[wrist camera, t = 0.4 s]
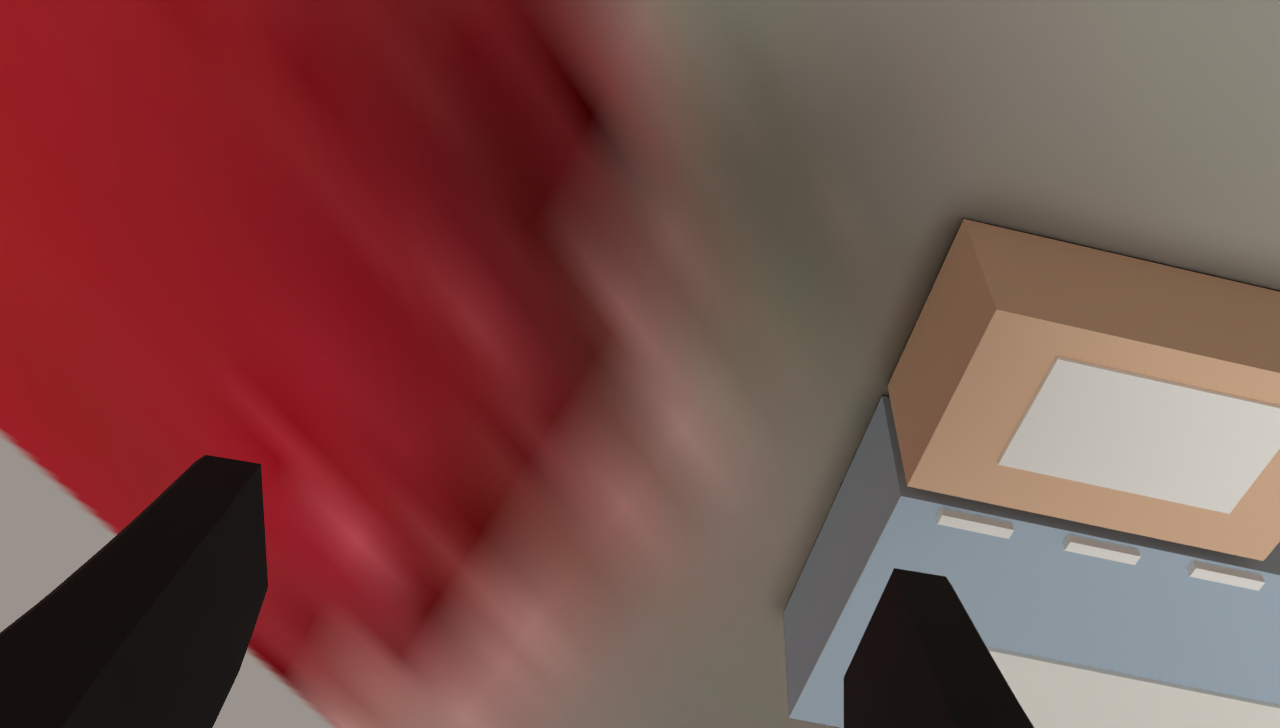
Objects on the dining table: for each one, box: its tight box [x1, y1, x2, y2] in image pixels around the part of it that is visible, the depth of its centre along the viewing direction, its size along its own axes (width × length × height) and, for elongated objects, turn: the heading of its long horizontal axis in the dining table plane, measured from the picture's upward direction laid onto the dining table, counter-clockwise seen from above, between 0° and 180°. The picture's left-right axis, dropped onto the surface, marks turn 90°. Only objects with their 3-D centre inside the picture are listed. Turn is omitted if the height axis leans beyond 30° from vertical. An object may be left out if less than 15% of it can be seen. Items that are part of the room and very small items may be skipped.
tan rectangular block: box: [888, 219, 1280, 561], centre depth 20 cm, size 4×7×3 cm, turn 78°
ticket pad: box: [783, 396, 1280, 728], centre depth 24 cm, size 7×13×3 cm, turn 78°
